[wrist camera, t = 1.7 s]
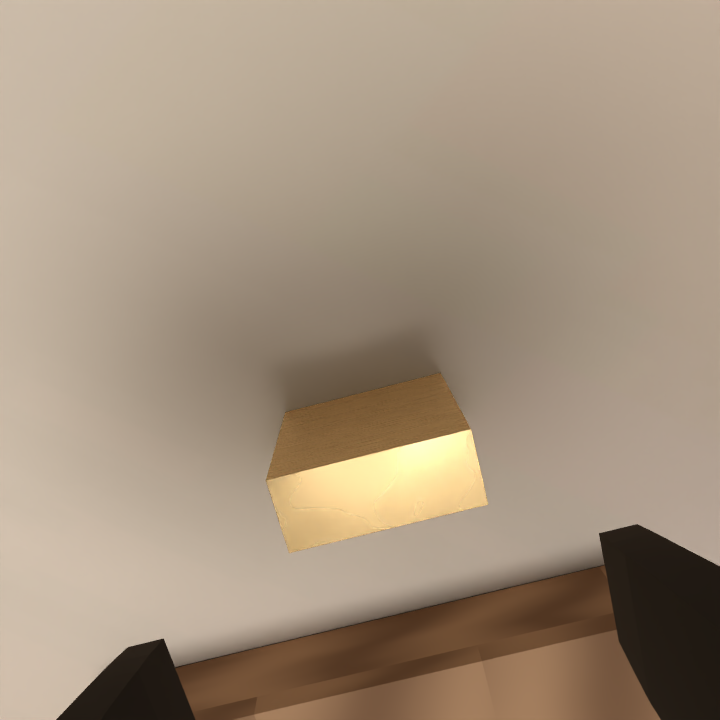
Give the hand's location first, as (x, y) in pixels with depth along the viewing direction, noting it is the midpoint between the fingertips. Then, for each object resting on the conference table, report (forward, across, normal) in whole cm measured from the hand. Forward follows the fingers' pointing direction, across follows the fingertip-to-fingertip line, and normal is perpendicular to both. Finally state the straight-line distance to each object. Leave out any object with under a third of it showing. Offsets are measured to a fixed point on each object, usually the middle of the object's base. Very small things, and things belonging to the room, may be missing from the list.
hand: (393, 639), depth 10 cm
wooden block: (+10, 0, 0) cm, 10 cm away
